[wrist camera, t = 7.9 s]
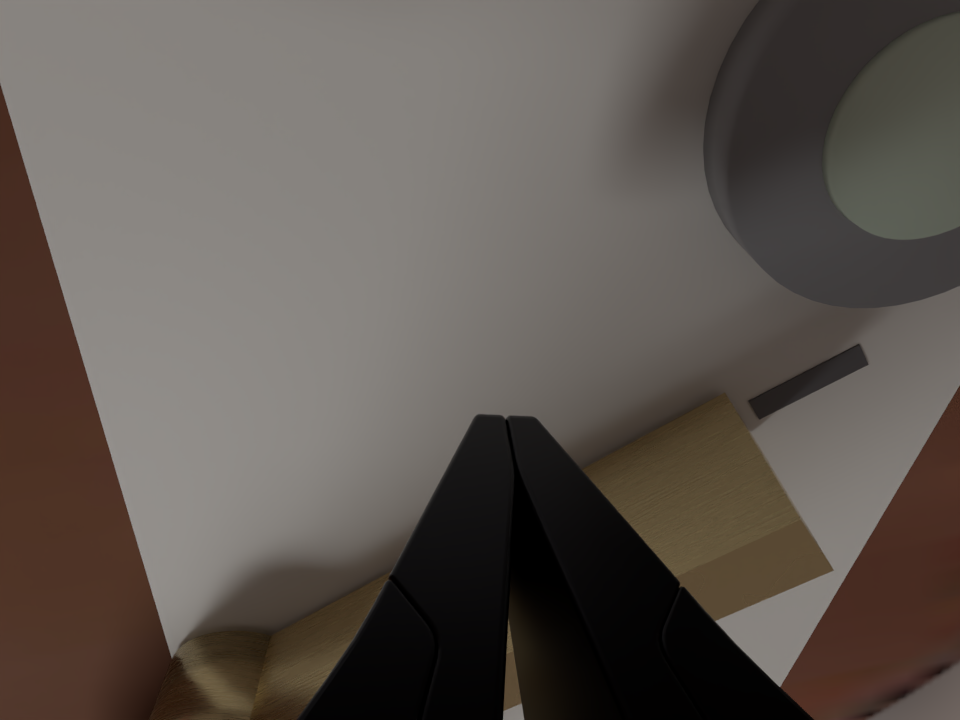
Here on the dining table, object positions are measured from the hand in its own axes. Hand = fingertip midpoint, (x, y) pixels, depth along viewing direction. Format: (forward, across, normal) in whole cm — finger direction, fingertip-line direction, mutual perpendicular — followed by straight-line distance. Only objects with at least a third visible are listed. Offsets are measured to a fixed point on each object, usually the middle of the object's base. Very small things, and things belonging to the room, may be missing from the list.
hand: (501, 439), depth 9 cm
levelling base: (+5, -1, +5) cm, 7 cm away
